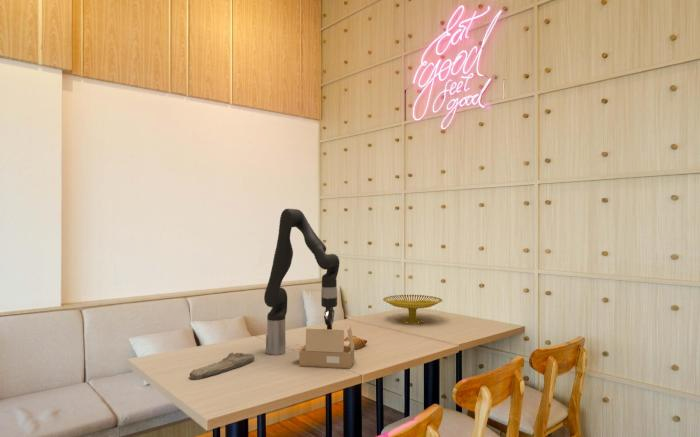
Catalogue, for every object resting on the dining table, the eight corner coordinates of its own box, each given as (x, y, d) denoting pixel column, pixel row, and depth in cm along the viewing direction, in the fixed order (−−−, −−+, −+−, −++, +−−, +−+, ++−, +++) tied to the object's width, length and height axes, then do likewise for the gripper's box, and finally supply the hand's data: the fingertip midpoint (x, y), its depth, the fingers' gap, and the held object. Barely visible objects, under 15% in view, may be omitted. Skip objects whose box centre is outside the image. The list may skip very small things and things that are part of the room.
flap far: (351, 351, 209) (347, 329, 210) (353, 346, 216) (349, 326, 217) (352, 350, 209) (348, 329, 210) (354, 346, 216) (350, 326, 217)
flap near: (305, 350, 210) (306, 328, 212) (343, 352, 207) (344, 329, 209) (305, 350, 210) (306, 328, 212) (343, 352, 207) (343, 329, 209)
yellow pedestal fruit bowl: (371, 323, 302) (371, 300, 302) (400, 313, 334) (400, 292, 334) (426, 331, 278) (426, 306, 278) (452, 319, 311) (452, 297, 311)
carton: (290, 365, 211) (290, 350, 212) (302, 353, 231) (302, 339, 231) (350, 368, 207) (350, 352, 207) (356, 355, 227) (356, 341, 227)
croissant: (335, 359, 233) (339, 347, 230) (326, 346, 240) (330, 334, 237) (369, 352, 244) (373, 340, 241) (360, 339, 252) (363, 328, 249)
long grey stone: (183, 380, 197) (198, 386, 191) (183, 369, 196) (198, 374, 191) (245, 356, 225) (259, 361, 220) (245, 346, 225) (259, 350, 219)
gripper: (324, 294, 222) (324, 329, 222) (318, 298, 209) (318, 335, 209) (339, 294, 221) (339, 329, 221) (334, 298, 208) (334, 336, 208)
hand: (329, 332), depth 215 cm, fingers closed
